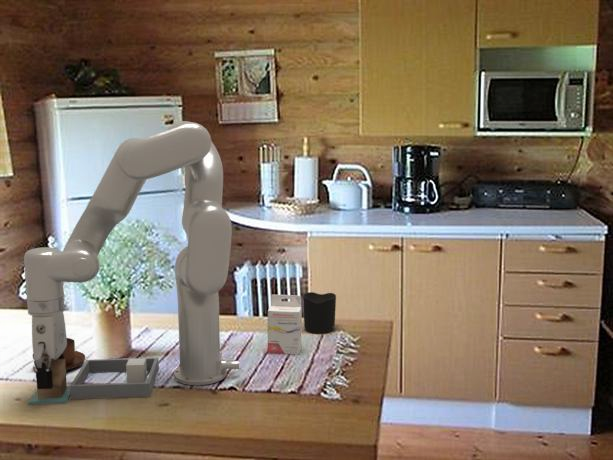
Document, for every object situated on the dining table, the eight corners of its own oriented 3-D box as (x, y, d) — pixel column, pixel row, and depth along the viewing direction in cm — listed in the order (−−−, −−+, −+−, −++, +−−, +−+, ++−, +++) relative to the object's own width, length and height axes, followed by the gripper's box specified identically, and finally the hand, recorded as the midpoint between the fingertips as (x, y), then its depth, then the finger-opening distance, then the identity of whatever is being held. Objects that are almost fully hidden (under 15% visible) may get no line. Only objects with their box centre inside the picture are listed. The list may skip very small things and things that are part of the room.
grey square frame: (158, 369, 169) (158, 357, 168) (150, 396, 153) (149, 383, 153) (86, 371, 167) (86, 359, 167) (70, 399, 152) (69, 386, 151)
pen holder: (318, 336, 193) (318, 302, 191) (296, 328, 200) (296, 295, 198) (342, 329, 199) (342, 296, 197) (320, 322, 206) (320, 289, 204)
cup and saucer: (50, 380, 163) (48, 355, 162) (25, 367, 171) (23, 343, 169) (95, 365, 172) (93, 342, 171) (69, 354, 180) (67, 331, 178)
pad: (75, 388, 158) (75, 385, 158) (66, 403, 150) (66, 400, 150) (39, 389, 157) (39, 386, 157) (28, 404, 149) (28, 401, 149)
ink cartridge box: (267, 353, 180) (266, 299, 177) (269, 347, 184) (269, 293, 182) (299, 355, 179) (299, 300, 176) (301, 348, 184) (301, 294, 181)
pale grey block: (147, 378, 163) (146, 358, 163) (144, 385, 160) (143, 364, 159) (129, 379, 163) (128, 359, 162) (127, 385, 159) (126, 365, 158)
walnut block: (66, 388, 156) (64, 359, 155) (61, 397, 151) (59, 367, 150) (44, 389, 156) (42, 359, 154) (37, 398, 151) (35, 368, 149)
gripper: (53, 316, 141) (58, 395, 145) (73, 293, 158) (78, 364, 161) (15, 317, 141) (21, 396, 144) (39, 294, 158) (44, 365, 161)
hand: (51, 379), depth 153 cm, fingers open, 9 cm apart
